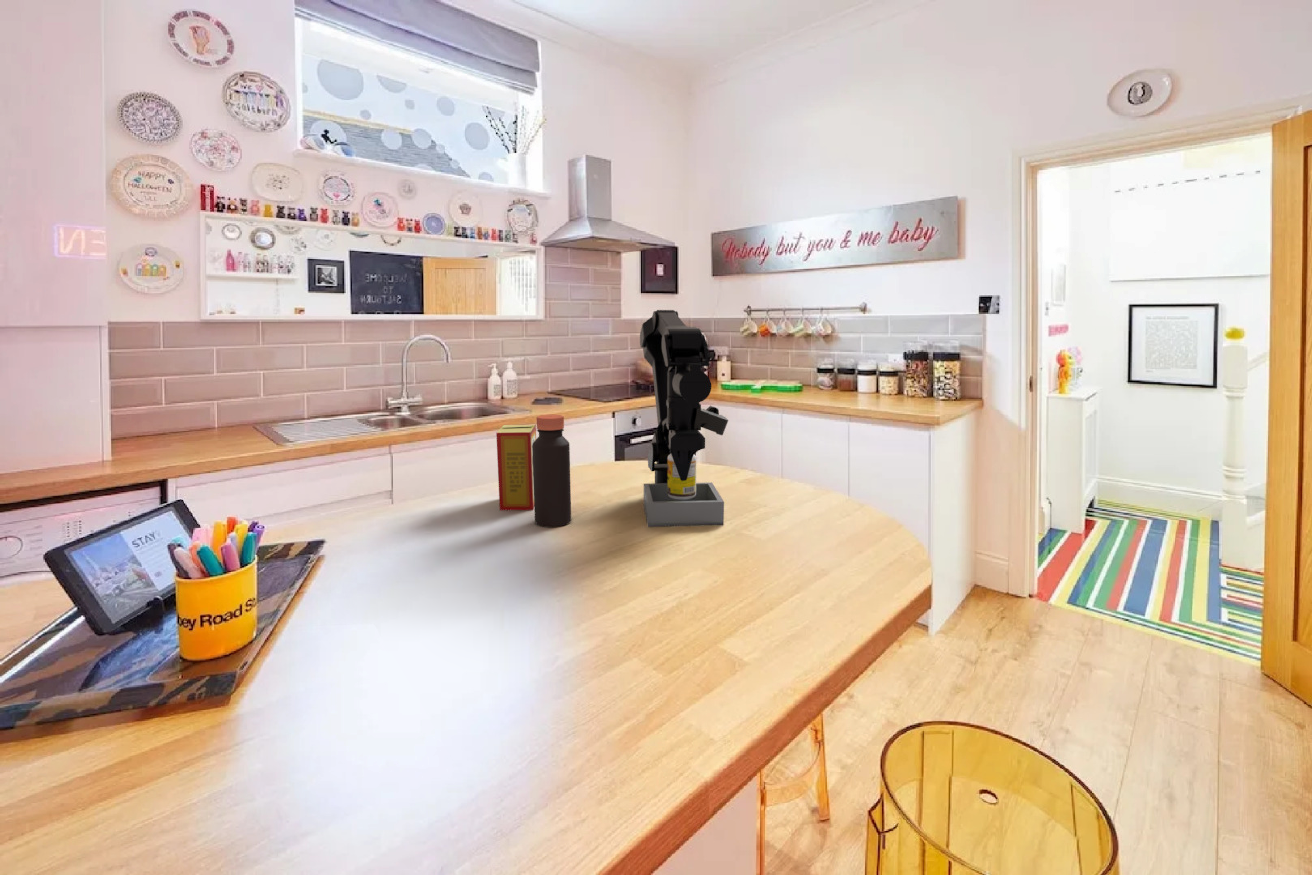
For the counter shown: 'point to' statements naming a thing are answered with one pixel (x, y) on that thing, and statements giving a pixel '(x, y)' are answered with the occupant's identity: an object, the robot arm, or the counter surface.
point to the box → (683, 507)
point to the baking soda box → (516, 466)
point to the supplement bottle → (678, 487)
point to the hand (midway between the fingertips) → (681, 476)
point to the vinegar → (551, 473)
